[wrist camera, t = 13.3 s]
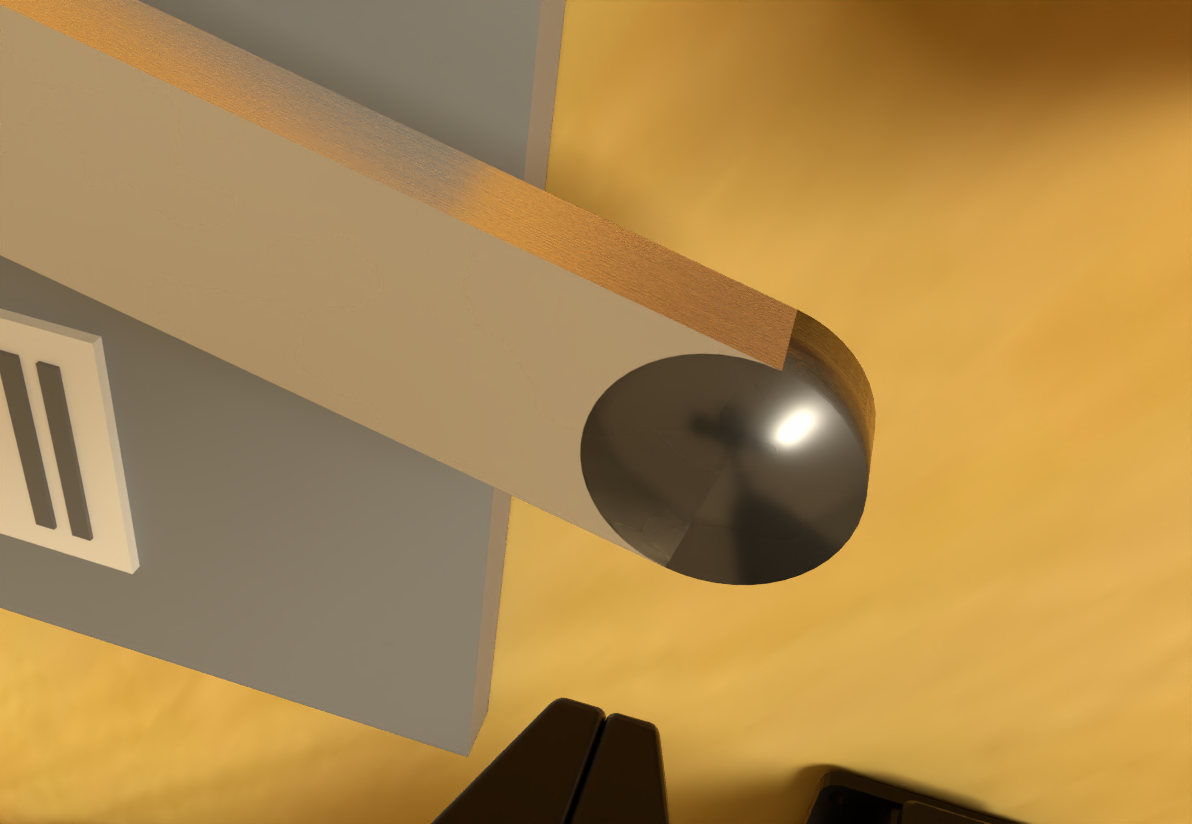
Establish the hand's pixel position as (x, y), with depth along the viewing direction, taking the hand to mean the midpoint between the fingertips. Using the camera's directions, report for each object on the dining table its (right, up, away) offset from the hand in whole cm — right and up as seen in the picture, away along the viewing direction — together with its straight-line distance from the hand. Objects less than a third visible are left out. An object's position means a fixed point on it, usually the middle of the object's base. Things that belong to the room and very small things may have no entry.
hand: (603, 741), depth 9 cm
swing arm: (-5, +7, +9) cm, 12 cm away
